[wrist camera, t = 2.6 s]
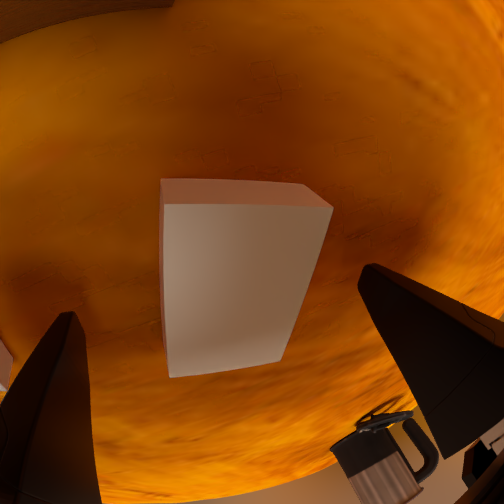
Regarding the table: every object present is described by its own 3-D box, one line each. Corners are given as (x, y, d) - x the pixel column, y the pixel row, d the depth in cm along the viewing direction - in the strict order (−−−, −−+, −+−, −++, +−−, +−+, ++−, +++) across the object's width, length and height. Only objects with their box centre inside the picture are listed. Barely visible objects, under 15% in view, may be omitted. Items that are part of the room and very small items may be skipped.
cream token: (261, 323, 12) (280, 360, 10) (161, 333, 10) (169, 377, 9) (297, 179, 8) (333, 208, 7) (160, 173, 7) (164, 204, 5)
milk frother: (339, 448, 39) (375, 512, 27) (298, 453, 29) (345, 542, 17) (409, 401, 37) (452, 464, 25) (396, 390, 27) (457, 482, 15)
